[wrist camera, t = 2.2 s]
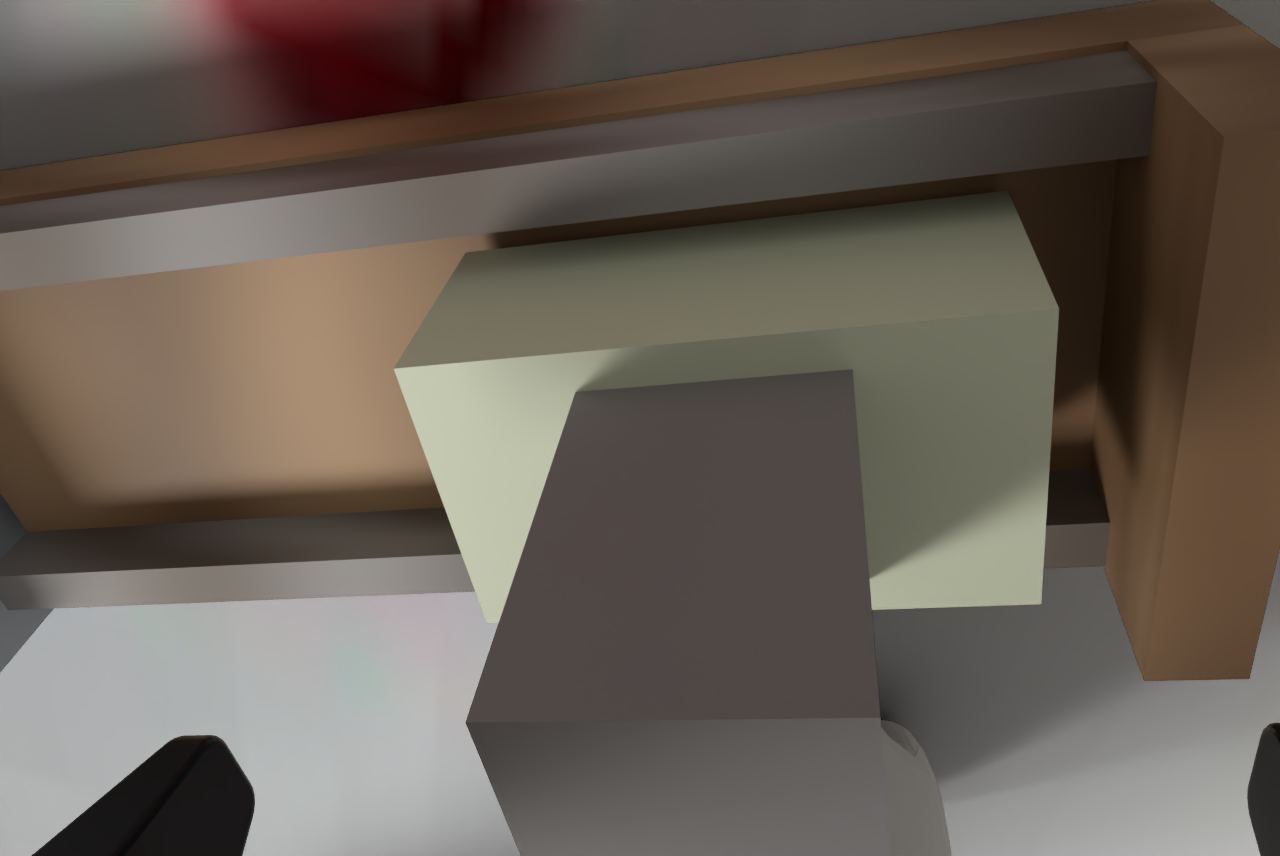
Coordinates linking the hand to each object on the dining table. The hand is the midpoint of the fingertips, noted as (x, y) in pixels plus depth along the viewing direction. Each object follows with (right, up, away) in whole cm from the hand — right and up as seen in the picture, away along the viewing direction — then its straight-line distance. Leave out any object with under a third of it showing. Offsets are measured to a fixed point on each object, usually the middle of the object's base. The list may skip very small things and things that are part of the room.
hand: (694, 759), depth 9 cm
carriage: (+1, +4, +5) cm, 7 cm away
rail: (-2, +5, +7) cm, 9 cm away
